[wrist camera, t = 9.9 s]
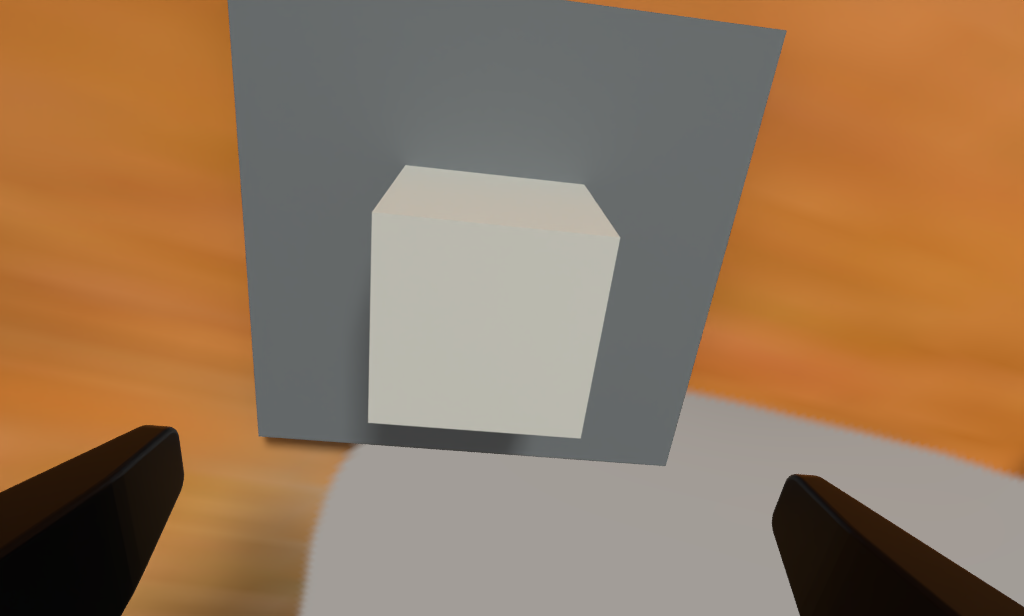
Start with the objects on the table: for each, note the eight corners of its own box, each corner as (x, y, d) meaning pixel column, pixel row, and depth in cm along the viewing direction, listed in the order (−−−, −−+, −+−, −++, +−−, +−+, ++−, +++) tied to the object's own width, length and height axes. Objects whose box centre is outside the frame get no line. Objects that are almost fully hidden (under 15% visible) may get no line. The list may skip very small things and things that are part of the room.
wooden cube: (398, 327, 18) (368, 422, 14) (405, 165, 16) (371, 212, 12) (558, 341, 18) (580, 438, 14) (584, 184, 16) (620, 237, 12)
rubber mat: (271, 415, 21) (258, 436, 20) (243, -40, 15) (224, -46, 14) (656, 444, 22) (665, 466, 21) (766, 31, 16) (786, 30, 15)
